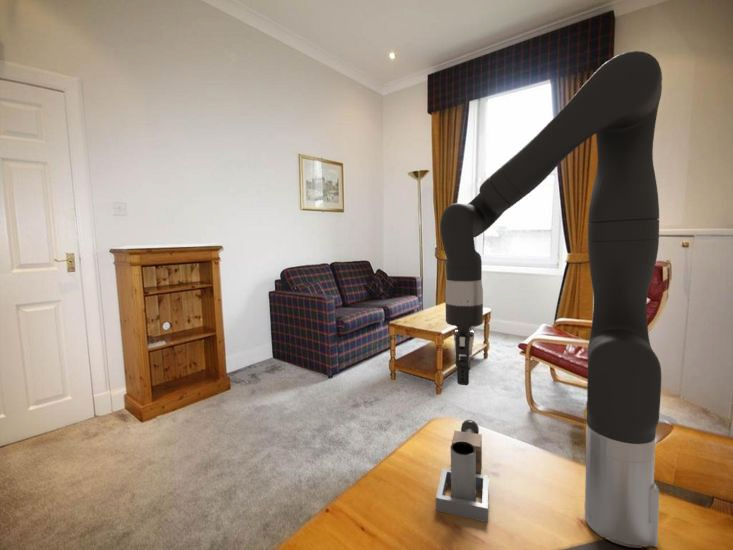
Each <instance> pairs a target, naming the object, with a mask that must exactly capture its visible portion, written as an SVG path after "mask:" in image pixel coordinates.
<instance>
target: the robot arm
mask: <svg viewBox="0 0 733 550" xmlns="http://www.w3.org/2000/svg"><path fill="white" fill-rule="evenodd" d="M662 75H663V73H662V68H661V66H660V63H659V61H658V60H657V58H656V57H655V56H653V55H652V54H650V53H648V52H646V51H641V50H640V51H639V50H633V51H626V52H623V53H620V54H618V55H616V56H613V57H612V58H610V59H609V60H607V61H605V62H604V63H603V64H602V65H601V66H599V68H598V69H597V70H596V71H595V72H593V74H592V75H591V76H590V78H588V80H587V81H586V82H585V83H584V84H583V85H582V86H581V88H579V90H578V91H576V93H575V94H574V95H573V97H572V98H571V99H570V100H569V101H568V102H567V103H566V104H565V105H564V107H563V108H562V109H560V110H559V112H558V113H557V114H556V115H554V117H553V118H552V119H551V120H550V121H549V122H548V123H547V124H546V125H545V126H544V127H543V129H541V130H540V131H539V133H537V134H536V135H535V136H534V137H533V138H532V139H531V140H530V141H529V142H528V143H526V144H525V146H523V147H522V148H521V149H520V150H519V151H518V152H517V153H515V154H514V155H513V156H512V157H511V158H510V159H509V160H507V161H506V162H505V163H504V164H502V166H500V167H499V168H498V169H497V170H496V171H494V172H493V173H492V174H491V175H490V176H489V177H488V178H487V179H485V180H484V181H483V183H482V184H481V185H480V187H479V190H478V191H479V193H478V194H477V195H476V196H475V197H474V198H473V199H472V200H471V201H470V202H469V203H462V202H461V203H460V202H456V203H451V204H449V206H447V207H446V208H445V209H444V210H443V212H442V215H441V219H440V222H439V224H440V225H439V230H440V232H439V233H440V237H441V243H442V246H443V251H444V254H445V259H446V282H445V284H446V285H445V293H444V294H445V322H446V323H447V324H448V325H450V326H453V327H454V326H455V327H457V330H454V332H453V342H454V355H455V362H454V364H455V367H457V368H456V369H457V370H456V372H457V373H456V375H457V376H456V379H457V380H456V381H457V385H459V386H469V383H470V375H469V374H470V370H471V357H473V347H474V342H475V341H474V340H475V331H473V330H472V327H474V328H475V327H479V326H481V325H482V324H483V323H484V289H483V282H482V280H483V278H482V277H483V275H482V274H483V273H482V269H483V267H482V265H483V263H482V262H483V261H482V256H481V254H480V253H479V252H478V251H477V250H476V244H475V238H476V237H479V236H480V235H482V234H484V233H485V232H487V230H488V229H490V228H491V227H492V225H493V224H494V223H495V222H497V220H498V219H499V218H500V217H501V216H502V215H503V213H505V211H507V210H509V209H511V207H513V206H514V205H516V204H517V203H518V202H519V201H521V200H522V199H523V198H524V197H526V196H528V195H529V194H530V193H531V192H532V191H534V190H535V189H536V188H537V187H538V186H539V185H541V184H542V182H544V181H545V180H546V179H547V177H549V176H550V175H551V173H552V172H553V171H554V170H555V169H556V168H557V167H558V166H559V164H561V162H562V161H564V160H565V159H566V158H567V157H568V156H569V155H570V154H571V153H572V152H573V151H574V150H575V149H577V148H578V147H579V146H580V145H582V144H583V143H584V142H585V141H587V140H589V139H590V138H591V137H593V136H594V135H595V138H596V139H595V140H596V150H597V151H596V153H597V163H596V164H597V165H596V172H595V177H594V181H593V185H592V190H591V196H590V200H589V208H588V215H587V216H588V218H587V220H588V221H587V223H588V224H587V252H588V263H589V264H588V265H589V272H590V273H589V274H590V280H591V286H592V292H593V308H592V309H593V312H592V320H591V321H592V322H591V328H590V336H589V339H588V340H589V341H588V345H587V351H586V353H587V356H586V357H587V384H586V385H587V394H586V423H585V424H586V430H585V432H586V433H585V434H586V435H585V436H586V437H585V441H586V442H585V476H584V477H585V481H584V482H585V484H584V485H585V487H584V489H585V490H584V518H585V521H586V523H587V525H588V526H589V527H590V529H591V530H593V532H595V533H596V534H597V535H598V536H600V537H601V538H603V537H605V538H610V539H614V540H618V541H621V542H624V543H627V544H634V545H641V546H644V547H645V548H647V547H654V548H657V547H658V537H659V515H660V514H659V512H660V511H659V509H660V489H659V487H658V486H657V484H656V483H655V461H656V459H655V457H656V456H655V453H656V429H657V427H658V425H659V422H660V408H661V393H662V391H661V390H662V366H661V363H660V359H659V357H658V356H657V354H656V353H655V352H654V350H653V348H652V346H651V342H650V336H649V335H650V334H649V328H648V326H649V325H648V315H647V313H648V312H647V304H648V295H649V292H650V291H649V290H650V286H651V283H652V279H653V276H654V272H655V267H656V262H657V258H658V251H659V245H660V244H659V243H660V242H659V241H660V206H659V205H660V203H659V193H658V184H657V177H656V173H655V167H654V159H653V158H654V157H653V156H654V155H653V154H654V152H653V149H654V138H655V130H656V123H657V117H658V111H659V105H660V101H661V98H662V89H663V86H662V85H663V76H662Z"/></svg>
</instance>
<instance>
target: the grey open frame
mask: <svg viewBox="0 0 733 550" xmlns="http://www.w3.org/2000/svg"><path fill="white" fill-rule="evenodd" d="M489 482H490V476H489V475H483V474H481V475H479V474H476V490H479V491H482V496H481V497H482V498H481V502H478V501H476V502H473V501H468V500H463V499H459V498H454V497H452V496H450V495H449V496H448V495H446V493H447V486H448V484H450V485H451V468H446V467H442V469H441V474H440V479H439V482H438V486H437V490H436V495H435V510H436V511H437V512H441V513H445V514H450V515H455V516H458V517H459V516H460V517H464V518H468V519H472V520H473V519H474V520H476V521H477V520H478V521H481V522H486V523H488V522H489V496H490V495H489V494H490V483H489Z"/></svg>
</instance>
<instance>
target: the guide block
mask: <svg viewBox="0 0 733 550" xmlns="http://www.w3.org/2000/svg"><path fill="white" fill-rule="evenodd" d="M482 435H483V434H482V433H478V434H476V433H469V432H462V431H461V430H454V432H453V437H452V440H451V441H452V442H451V445H452V444H453V443H454V442H458V441H463V442H468V443H470V444H472V445H473V446H474V447H475V450H476V474H479V475H482V467H483V466H482V465H483V464H482V463H483V458H482V457H483V456H482V455H483V451H482V449H483V445H482Z"/></svg>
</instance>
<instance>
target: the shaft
mask: <svg viewBox="0 0 733 550" xmlns="http://www.w3.org/2000/svg"><path fill="white" fill-rule="evenodd" d="M460 431H462V432H469V433H476V434H480V433H479V431H480V428H479V425H478V423H477V422H476V421H474V420H471V419H466V420H464V421H463V422H462V423H461V428H460Z"/></svg>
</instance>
